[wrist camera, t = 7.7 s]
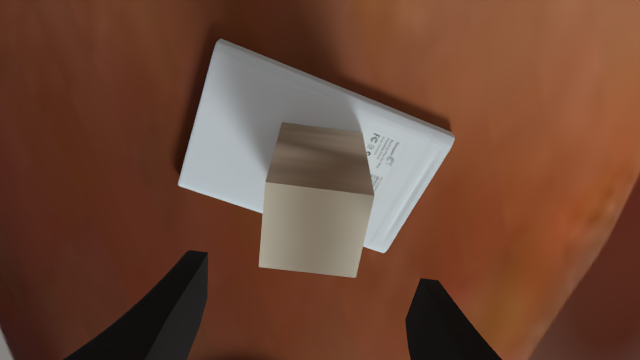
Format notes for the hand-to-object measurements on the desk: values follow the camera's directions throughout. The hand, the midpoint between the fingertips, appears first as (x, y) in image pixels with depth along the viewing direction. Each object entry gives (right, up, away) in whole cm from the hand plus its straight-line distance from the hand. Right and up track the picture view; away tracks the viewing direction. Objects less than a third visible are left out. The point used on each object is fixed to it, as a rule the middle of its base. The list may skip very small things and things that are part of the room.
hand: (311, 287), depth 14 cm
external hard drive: (0, +5, +9) cm, 10 cm away
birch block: (0, +5, +7) cm, 9 cm away
